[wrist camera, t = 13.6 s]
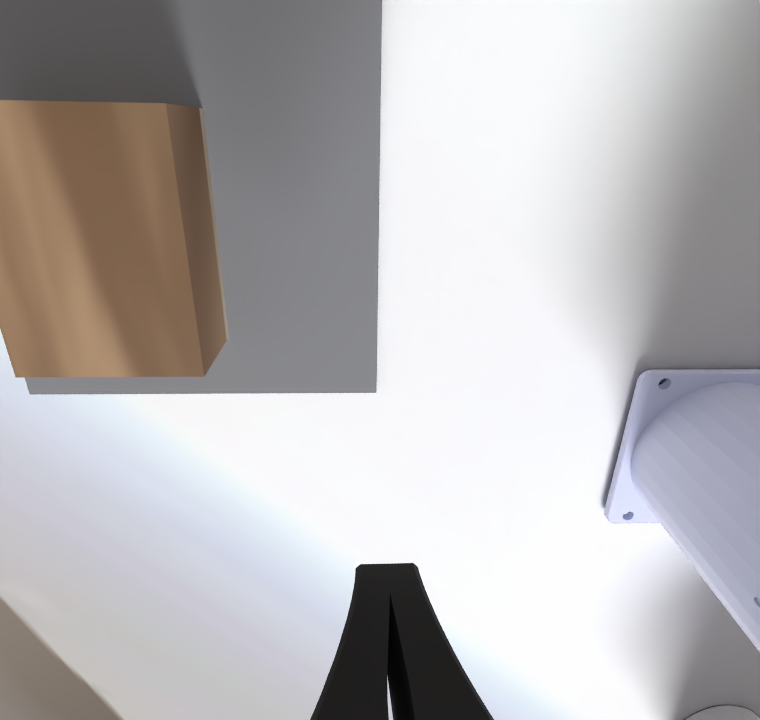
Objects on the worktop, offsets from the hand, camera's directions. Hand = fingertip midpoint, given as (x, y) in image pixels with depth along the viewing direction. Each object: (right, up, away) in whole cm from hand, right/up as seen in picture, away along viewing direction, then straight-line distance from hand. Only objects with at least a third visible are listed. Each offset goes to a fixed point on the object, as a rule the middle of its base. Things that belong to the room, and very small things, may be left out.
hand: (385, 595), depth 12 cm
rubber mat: (-7, +11, +6) cm, 14 cm away
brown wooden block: (-6, +9, +5) cm, 12 cm away
